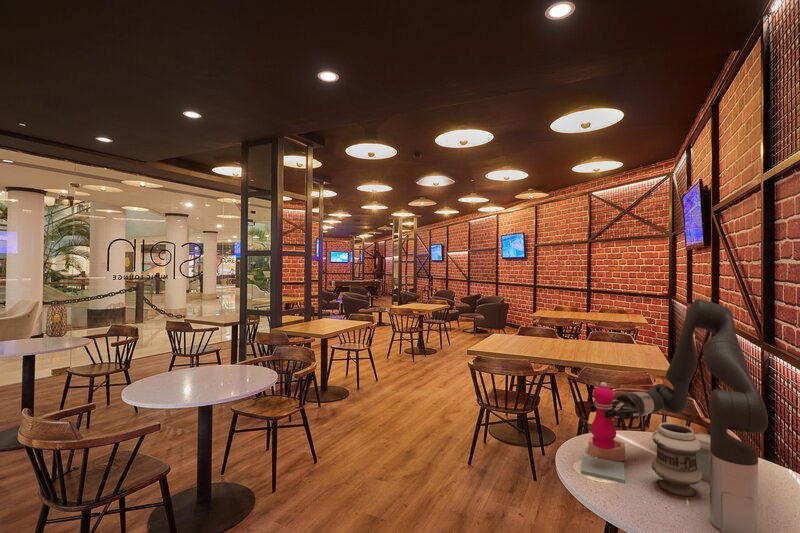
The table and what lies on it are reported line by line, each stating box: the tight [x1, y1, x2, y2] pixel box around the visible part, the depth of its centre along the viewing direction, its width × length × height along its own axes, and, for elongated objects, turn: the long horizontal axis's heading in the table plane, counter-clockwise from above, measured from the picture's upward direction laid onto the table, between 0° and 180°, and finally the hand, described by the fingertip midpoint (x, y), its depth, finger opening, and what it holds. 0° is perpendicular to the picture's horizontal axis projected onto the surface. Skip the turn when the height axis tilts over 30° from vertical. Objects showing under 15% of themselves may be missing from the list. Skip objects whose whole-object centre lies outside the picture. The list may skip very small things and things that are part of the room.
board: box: [580, 454, 626, 484], centre depth 130 cm, size 12×12×1 cm
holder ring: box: [587, 436, 626, 462], centre depth 141 cm, size 11×11×4 cm
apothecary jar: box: [651, 422, 703, 500], centre depth 119 cm, size 12×12×18 cm
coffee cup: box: [694, 433, 710, 483], centre depth 126 cm, size 9×8×12 cm
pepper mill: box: [590, 381, 617, 449], centre depth 130 cm, size 7×7×20 cm
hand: (597, 411), depth 129 cm, fingers closed on pepper mill, 4 cm apart
